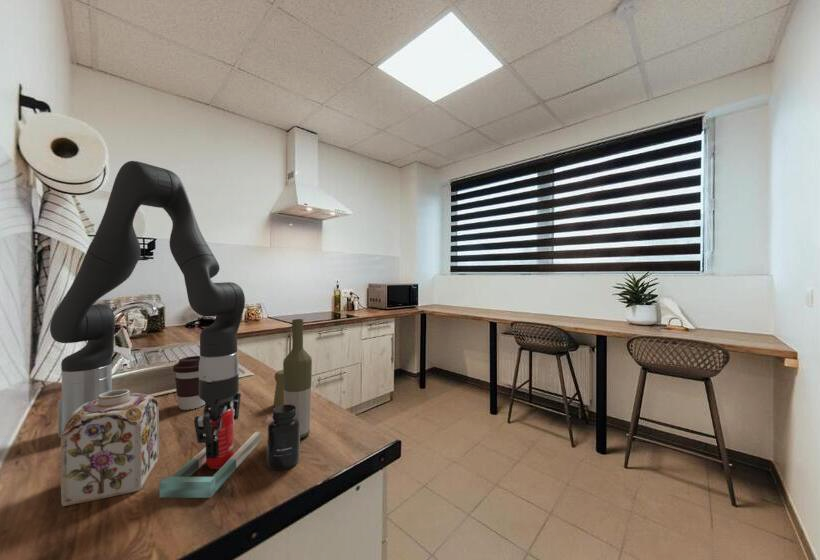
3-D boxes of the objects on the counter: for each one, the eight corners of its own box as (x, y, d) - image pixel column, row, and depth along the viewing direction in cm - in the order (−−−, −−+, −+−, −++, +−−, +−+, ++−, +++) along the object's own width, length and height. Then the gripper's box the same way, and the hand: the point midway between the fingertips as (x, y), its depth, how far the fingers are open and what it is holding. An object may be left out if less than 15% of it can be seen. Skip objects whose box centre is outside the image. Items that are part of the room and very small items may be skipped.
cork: (268, 406, 101) (268, 372, 101) (283, 400, 107) (283, 366, 106) (283, 410, 99) (283, 374, 99) (297, 402, 104) (297, 369, 104)
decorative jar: (58, 509, 57) (57, 408, 57) (91, 471, 68) (90, 386, 67) (142, 491, 62) (141, 398, 61) (161, 459, 72) (160, 379, 72)
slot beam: (159, 497, 60) (159, 481, 60) (223, 439, 81) (223, 427, 81) (210, 497, 60) (210, 481, 60) (261, 439, 81) (261, 427, 81)
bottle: (300, 425, 89) (300, 317, 88) (317, 433, 85) (317, 319, 84) (277, 436, 83) (277, 320, 82) (294, 444, 79) (294, 322, 78)
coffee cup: (217, 403, 103) (217, 357, 103) (182, 415, 95) (182, 364, 94) (202, 397, 108) (201, 352, 108) (167, 407, 100) (167, 359, 100)
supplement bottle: (280, 475, 67) (280, 418, 67) (260, 464, 71) (260, 410, 70) (306, 459, 73) (306, 406, 73) (287, 450, 77) (287, 400, 76)
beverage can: (221, 471, 68) (220, 415, 68) (200, 468, 69) (199, 413, 69) (238, 457, 73) (238, 405, 73) (218, 454, 74) (218, 403, 74)
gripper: (220, 364, 78) (221, 433, 78) (179, 385, 63) (180, 470, 64) (252, 364, 78) (252, 433, 78) (217, 385, 63) (218, 470, 64)
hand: (219, 449), depth 71 cm, fingers closed on beverage can, 5 cm apart
